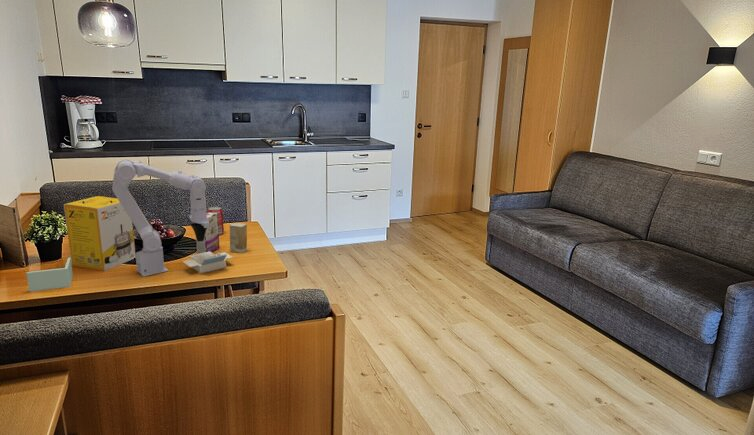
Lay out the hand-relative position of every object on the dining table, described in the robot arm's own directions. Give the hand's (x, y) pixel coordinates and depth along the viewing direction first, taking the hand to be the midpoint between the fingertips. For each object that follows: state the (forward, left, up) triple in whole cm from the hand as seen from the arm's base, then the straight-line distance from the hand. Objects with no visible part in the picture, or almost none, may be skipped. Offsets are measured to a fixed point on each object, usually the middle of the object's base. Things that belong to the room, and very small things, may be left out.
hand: (200, 240), depth 197 cm
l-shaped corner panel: (-50, +15, -11) cm, 53 cm away
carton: (+1, -2, -10) cm, 11 cm away
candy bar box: (+9, +14, -11) cm, 20 cm away
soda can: (+23, +36, -11) cm, 44 cm away
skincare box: (+20, +7, -11) cm, 24 cm away
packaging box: (-29, +27, -11) cm, 41 cm away
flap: (+1, -10, -5) cm, 11 cm away
